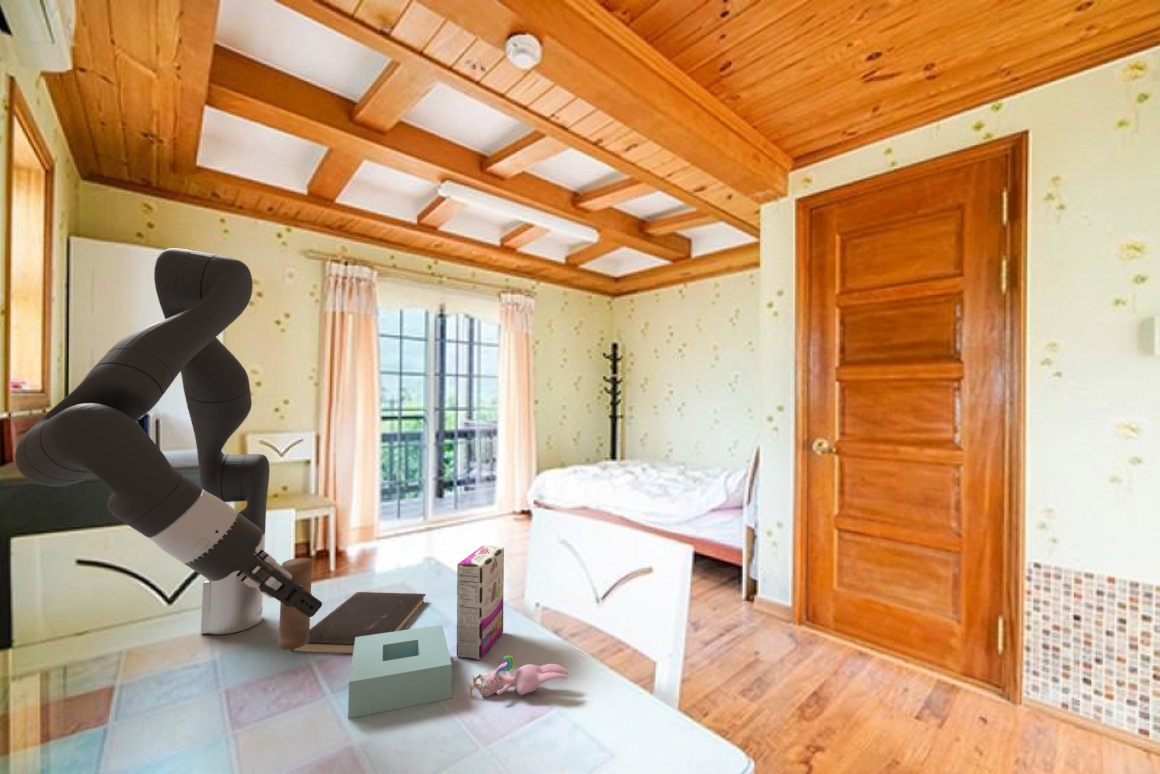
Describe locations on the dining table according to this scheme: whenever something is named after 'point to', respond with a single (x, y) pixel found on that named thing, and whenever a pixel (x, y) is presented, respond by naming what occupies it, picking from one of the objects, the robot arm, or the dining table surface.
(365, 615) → the hardcover book
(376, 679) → the square hole block
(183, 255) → the robot arm
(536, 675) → the rabbit figure
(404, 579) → the dining table surface
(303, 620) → the brown round-topped dowel
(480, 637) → the candy bar box
